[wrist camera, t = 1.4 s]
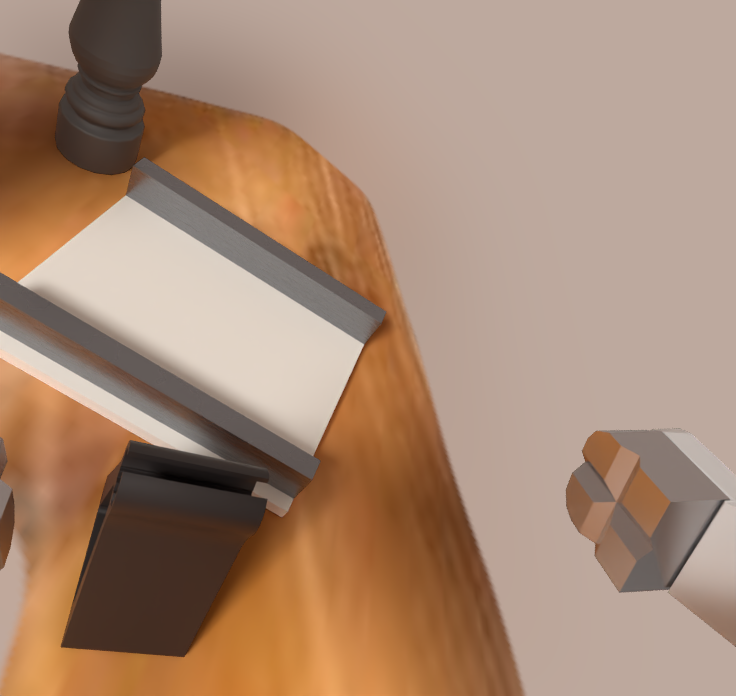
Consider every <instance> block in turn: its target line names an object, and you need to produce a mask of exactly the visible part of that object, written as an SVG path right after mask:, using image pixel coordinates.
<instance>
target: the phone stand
mask: <svg viewBox="0 0 736 696" xmlns="http://www.w3.org/2000/svg"><path fill="white" fill-rule="evenodd" d="M268 481H269V472H268V470H267V469H266V468H262V467H257V466H252V465H247V464H242V463H238V462H233V461H228V460H223V459H218V458H214V457H209V456H204V455H199V454H194V453H189V452H185V451H180V450H175V449H170V448H165V447H161V446H156V445H151V444H146V443H141V442H136V441H132V440H130V441H129V443H128V445H127V448H126V450H125V453H124V456H123V458H122V460H121V462H120V463H119V464H118V465H117V467H116V468H115V469H114V470H113V471H112V472H111V473H110V474H109V475H108V477H107V480H106V483H105V486H104V490H103V494H102V497H101V501H100V505H99V508H98V512H97V516H96V519H95V523H94V527H93V530H92V534H91V538H90V541H89V545H88V549H87V552H86V557H85V560H84V563H83V567H82V571H81V574H80V578H79V582H78V585H77V589H76V593H75V596H74V600H73V603H72V607H71V611H70V614H69V618H68V622H67V625H66V629H65V633H64V636H63V640H62V644H61V647H64V648H77V649H89V650H102V651H115V652H127V653H140V654H152V655H165V656H177V657H184V656H185V654H186V653H187V651H188V649H189V647H190V645H191V643H192V641H193V639H194V637H195V635H196V633H197V631H198V629H199V628H200V626H201V624H202V622H203V620H204V618H205V616H206V614H207V612H208V610H209V608H210V606H211V604H212V603H213V601H214V599H215V597H216V595H217V593H218V591H219V589H220V587H221V585H222V583H223V581H224V579H225V578H226V576H227V574H228V572H229V570H230V568H231V566H232V564H233V562H234V560H235V558H236V556H237V554H238V553H239V551H240V549H241V547H242V545H243V544H244V542H245V541H246V540H247V539H248V538H249V537H251V536H253V535H254V534H255V533H256V531H257V529H258V528H259V526H260V523H261V521H262V518H263V515H264V512H265V509H266V505H267V500H268V499H265V498H260V497H254V496H252V492H253V490H254V487H255V485H256V482H262V483H268Z"/></svg>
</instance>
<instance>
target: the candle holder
mask: <svg viewBox="0 0 736 696" xmlns="http://www.w3.org/2000/svg"><path fill="white" fill-rule="evenodd" d="M69 38H70V43H71V48H72V52H73V54H74V56H75V59H76V61H77V62H78V69H79V72H78V73H77V74H76V75H75V76H73V77H71V78H70V79H69V81H68V83H67V85H66V86H65V94H64V95H63V97H62V99H61V101H60V103H59V109H58V117H57V125H56V133H55V140H56V145H57V148H58V149H59V151H60V152H61V153H62V154H63V156H64V157H65V158H66V159H68V160H69V161H71V162H72V163H74V164H75V165H77V166H78V167H80V168H83V169H86V170H89V171H91V172H94V173H101V174H110V175H113V174H118V173H124V172H126V171H128V170H129V169H131V168H132V167H133V165H134V164H135V161H136V159H137V155H138V151H139V147H140V143H141V139H142V135H143V131H144V127H145V126H144V123H143V119H142V118H143V115H144V113H145V107H144V104H143V101H142V98H141V97H140V95H139V92H140V90H141V87H142V85H143V84H145V83H146V82H148V81H149V80H150V79H151V78H152V77H153V76H154V75H155V73H156V72H157V69H158V67H159V64H160V60H161V57H162V46H161V45H162V44H161V0H80V2H79V4H78V7H77V9H76V11H75V13H74V16H73V18H72V20H71V23H70V25H69Z"/></svg>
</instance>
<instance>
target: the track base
mask: <svg viewBox="0 0 736 696" xmlns="http://www.w3.org/2000/svg"><path fill="white" fill-rule="evenodd" d="M18 283H19V284H21V285H22V286H24V287H26V288H28V289H29V290H31V291H33V292H34V293H36V294H38V295H39V296H41V297H43V298H45V299H46V300H48V301H50V302H51V303H53V304H55V305H56V306H58V307H60V308H62V309H63V310H65V311H67V312H68V313H70V314H72V315H73V316H75V317H77V318H79V319H80V320H82V321H84V322H85V323H87V324H89V325H90V326H92V327H94V328H96V329H97V330H99V331H101V332H102V333H104V334H106V335H107V336H109V337H111V338H113V339H114V340H116V341H118V342H119V343H121V344H123V345H125V346H126V347H128V348H130V349H131V350H133V351H135V352H136V353H138V354H140V355H142V356H143V357H145V358H147V359H148V360H150V361H152V362H153V363H155V364H157V365H159V366H160V367H162V368H164V369H165V370H167V371H169V372H170V373H172V374H174V375H176V376H177V377H179V378H181V379H182V380H184V381H186V382H187V383H189V384H191V385H193V386H194V387H196V388H198V389H199V390H201V391H203V392H205V393H206V394H208V395H210V396H211V397H213V398H215V399H216V400H218V401H220V402H222V403H223V404H225V405H227V406H228V407H230V408H232V409H233V410H235V411H237V412H239V413H240V414H242V415H244V416H245V417H247V418H249V419H250V420H252V421H254V422H256V423H257V424H259V425H261V426H262V427H264V428H266V429H267V430H269V431H271V432H273V433H274V434H276V435H278V436H279V437H281V438H283V439H284V440H286V441H288V442H290V443H291V444H293V445H295V446H296V447H298V448H300V449H302V450H303V451H305V452H307V453H308V454H310V455H312V456H313V455H314V453H315V451H316V449H317V446H318V444H319V442H320V440H321V438H322V436H323V433H324V431H325V429H326V427H327V425H328V422H329V420H330V418H331V416H332V414H333V411H334V409H335V407H336V405H337V403H338V400H339V398H340V396H341V394H342V392H343V390H344V387H345V385H346V383H347V381H348V379H349V376H350V374H351V372H352V370H353V368H354V365H355V363H356V361H357V359H358V357H359V355H360V352H361V350H362V348H363V346H364V344H362V343H361V342H359V341H358V340H356V339H355V338H353V337H351V336H350V335H348V334H347V333H345V332H343V331H342V330H340V329H339V328H337V327H335V326H334V325H332V324H331V323H329V322H327V321H326V320H324V319H323V318H321V317H319V316H318V315H316V314H315V313H313V312H311V311H310V310H308V309H307V308H305V307H303V306H302V305H300V304H299V303H297V302H295V301H294V300H292V299H291V298H289V297H287V296H286V295H284V294H283V293H281V292H279V291H278V290H276V289H275V288H273V287H271V286H270V285H268V284H267V283H265V282H263V281H262V280H260V279H259V278H257V277H255V276H254V275H252V274H251V273H249V272H248V271H246V270H244V269H243V268H241V267H240V266H238V265H236V264H235V263H233V262H232V261H230V260H228V259H227V258H225V257H224V256H222V255H220V254H219V253H217V252H216V251H214V250H212V249H211V248H209V247H208V246H206V245H204V244H203V243H201V242H200V241H198V240H196V239H195V238H193V237H192V236H190V235H188V234H187V233H185V232H184V231H182V230H180V229H179V228H177V227H176V226H174V225H172V224H171V223H169V222H168V221H166V220H164V219H163V218H161V217H160V216H158V215H156V214H155V213H153V212H152V211H150V210H148V209H147V208H145V207H144V206H142V205H141V204H139V203H137V202H136V201H134V200H133V199H131V198H129V197H128V196H124V197H123V198H122V199H121V200H119V201H118V202H117V203H116V204H114V205H113V206H112V207H111V208H109V209H108V210H107V211H106V212H104V213H103V214H102V215H101V216H100V217H98V218H97V219H96V220H95V221H93V222H92V223H91V224H90V225H88V226H87V227H86V228H85V229H83V230H82V231H81V232H80V233H78V234H77V235H76V236H75V237H73V238H72V239H71V240H70V241H69V242H67V243H66V244H65V245H64V246H62V247H61V248H60V249H59V250H57V251H56V252H55V253H54V254H52V255H51V256H50V257H49V258H47V259H46V260H45V261H44V262H42V263H41V264H40V265H39V266H37V267H36V268H35V269H34V270H33V271H31V272H30V273H29V274H28V275H26V276H25V277H24V278H23V279H21V280H20V281H19V282H18ZM0 358H1V359H3V360H5V361H7V362H8V363H10V364H12V365H14V366H15V367H17V368H19V369H21V370H22V371H24V372H26V373H28V374H30V375H31V376H33V377H35V378H37V379H38V380H40V381H42V382H44V383H45V384H47V385H49V386H51V387H53V388H54V389H56V390H58V391H60V392H61V393H63V394H65V395H67V396H68V397H70V398H72V399H74V400H75V401H77V402H79V403H81V404H83V405H84V406H86V407H88V408H90V409H91V410H93V411H95V412H97V413H98V414H100V415H102V416H104V417H105V418H107V419H109V420H111V421H113V422H114V423H116V424H118V425H120V426H121V427H123V428H125V429H127V430H128V431H130V432H132V433H134V434H135V435H137V436H139V437H141V438H143V439H144V440H146V441H148V442H150V443H151V444H153V445H156V446H161V447H165V448H170V449H175V450H180V451H185V452H189V453H194V454H199V455H204V456H209V457H214V458H218V459H223V458H222V457H220V456H218V455H216V454H215V453H213V452H211V451H209V450H208V449H206V448H204V447H203V446H201V445H199V444H197V443H196V442H194V441H192V440H190V439H189V438H187V437H185V436H183V435H182V434H180V433H178V432H176V431H175V430H173V429H171V428H169V427H168V426H166V425H164V424H162V423H161V422H159V421H157V420H155V419H154V418H152V417H150V416H148V415H147V414H145V413H143V412H141V411H140V410H138V409H136V408H134V407H133V406H131V405H129V404H128V403H126V402H124V401H122V400H121V399H119V398H117V397H115V396H114V395H112V394H110V393H108V392H107V391H105V390H103V389H101V388H100V387H98V386H96V385H94V384H93V383H91V382H89V381H87V380H86V379H84V378H82V377H80V376H79V375H77V374H75V373H73V372H72V371H70V370H68V369H66V368H65V367H63V366H61V365H59V364H58V363H56V362H54V361H52V360H51V359H49V358H47V357H46V356H44V355H42V354H40V353H39V352H37V351H35V350H33V349H32V348H30V347H28V346H26V345H25V344H23V343H21V342H19V341H18V340H16V339H14V338H12V337H11V336H9V335H7V334H5V333H4V332H2V331H0ZM223 460H225V459H223ZM252 496H254V497H260V498H265V499H268V500H267V505H266V509H268V510H270V511H271V512H273V513H275V514H277V515H278V516H280V517H283V516H284V515H285V514H286V513H287V512H288V510H289V508H290V506H291V503H292V501H293V498H291V497H290V496H288V495H286V494H285V493H283V492H281V491H279V490H278V489H276V488H274V487H272V486H271V485H269V484H267V483H262V482H256V485H255V487H254V490H253V492H252Z"/></svg>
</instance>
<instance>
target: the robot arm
mask: <svg viewBox="0 0 736 696" xmlns="http://www.w3.org/2000/svg"><path fill="white" fill-rule="evenodd" d="M582 453H583V456H584V459H585V463H583V464H582V465H581V466H580V467H579V468H578V469H576V470H575V471H574V472H573V473H572V475H571V478H570V480H569V483H568V485H567V488H566V506H567V509H568V512H569V515H570V518H571V520H572V522H573V524H574V525H575V527H576V528H577V530H578V531H579V533H581V534H582V535H584V536H585V537H587V538H588V539H589V540H591V541H592V542H594V543H595V544H596V545H595V557H596V559H597V560H598V562H599V563H600V564H601V566H602V568H603V569H604V571H605V572H606V573H607V575H608V576H609V578H610V579H611V581H612V582H613V584H614V585H615V587H616V588H617V590H618V591H619V592H637V591H653V590H668V589H669V591H668V593H669V594H670V595H672V596H673V597H674V598H675V599H677V600H678V601H679V602H680V603H682V604H683V605H684V606H685V607H687V608H688V609H689V610H690V611H692V612H693V613H694V614H695V615H697V616H698V617H699V618H700V619H702V620H703V621H704V622H705V623H707V624H708V625H709V626H710V627H712V628H713V629H714V630H715V631H717V632H718V633H719V634H720V635H722V636H723V637H724V638H725V639H727V640H728V641H729V642H730V643H732V644H733V645H734V646H735V647H736V475H735V474H734V473H733V472H732V471H731V470H730V469H728V467H727V466H726V465H724V464H723V463H722V462H721V461H720V460H719V459H718V458H717V457H716V456H715V455H714V454H713V453H712V452H711V451H710V450H708V449H707V448H706V447H705V446H704V445H703V444H702V443H701V442H700V441H699V440H698V439H697V438H696V437H694V435H693V434H691V433H689V432H687V431H685V430H682V429H680V428H676V429H675V428H674V429H652V430H624V431H623V430H621V431H620V430H619V431H596V432H594V433H593V434H592V435H591V436H590V437H589V438H588V439H587V441H586V444H585V446H584V448H583V450H582ZM6 463H7V456H6V451H5V447H4V442H3V439H2V438H1V437H0V478H1V476H2V473H3V471H4V468H5V466H6ZM13 529H14V498H13V492H12V488H10V487H9V486H8V485H7V484H5V483H4V482H3V481H2V480H0V570H1V569H2V568H4V565H5V562H6V559H7V556H8V553H9V550H10V547H11V541H12V535H13Z"/></svg>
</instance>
